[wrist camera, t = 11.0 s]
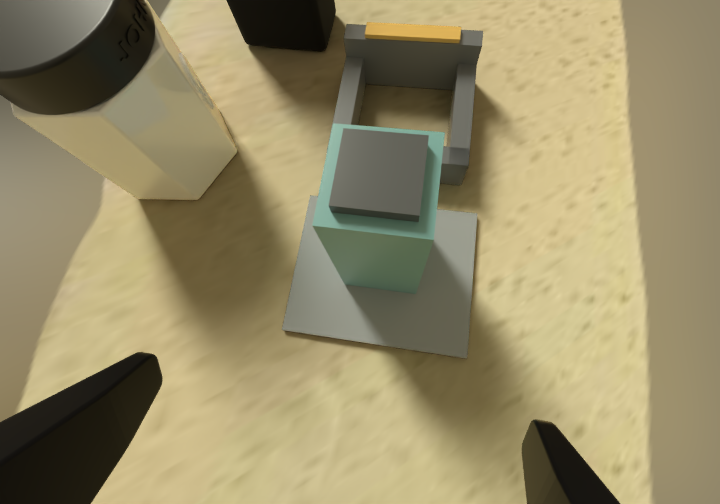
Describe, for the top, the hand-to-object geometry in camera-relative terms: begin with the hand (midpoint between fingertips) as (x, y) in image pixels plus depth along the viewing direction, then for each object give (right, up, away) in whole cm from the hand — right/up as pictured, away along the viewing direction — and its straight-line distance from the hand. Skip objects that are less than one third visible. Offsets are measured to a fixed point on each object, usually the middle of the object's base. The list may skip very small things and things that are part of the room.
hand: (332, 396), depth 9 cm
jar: (-13, +11, +19) cm, 25 cm away
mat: (+2, +2, +15) cm, 15 cm away
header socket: (+4, +13, +18) cm, 22 cm away
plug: (+2, +3, +15) cm, 15 cm away
